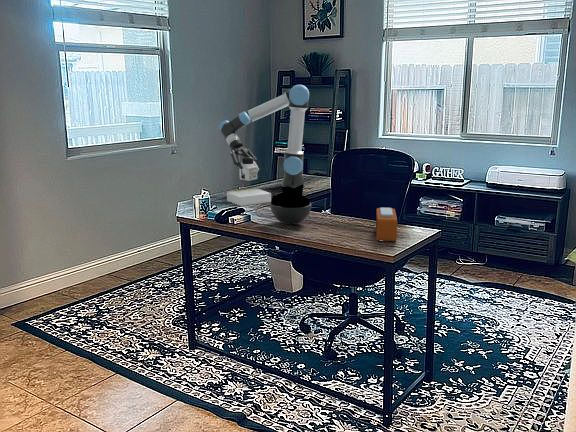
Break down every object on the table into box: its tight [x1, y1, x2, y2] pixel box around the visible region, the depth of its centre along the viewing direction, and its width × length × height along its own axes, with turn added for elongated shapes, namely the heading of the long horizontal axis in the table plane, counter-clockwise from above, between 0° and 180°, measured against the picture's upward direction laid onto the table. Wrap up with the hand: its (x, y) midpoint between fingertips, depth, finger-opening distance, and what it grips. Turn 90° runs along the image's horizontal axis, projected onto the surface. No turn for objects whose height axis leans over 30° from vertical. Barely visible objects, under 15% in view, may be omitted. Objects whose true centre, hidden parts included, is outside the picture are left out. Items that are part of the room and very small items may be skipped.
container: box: [238, 157, 258, 182], centre depth 336 cm, size 8×8×13 cm
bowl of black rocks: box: [269, 184, 313, 225], centre depth 272 cm, size 20×20×19 cm
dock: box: [226, 187, 272, 207], centre depth 322 cm, size 20×16×5 cm
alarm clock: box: [375, 207, 398, 242], centre depth 254 cm, size 24×8×11 cm, turn 173°
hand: (251, 171), depth 335 cm, fingers closed on container, 9 cm apart
